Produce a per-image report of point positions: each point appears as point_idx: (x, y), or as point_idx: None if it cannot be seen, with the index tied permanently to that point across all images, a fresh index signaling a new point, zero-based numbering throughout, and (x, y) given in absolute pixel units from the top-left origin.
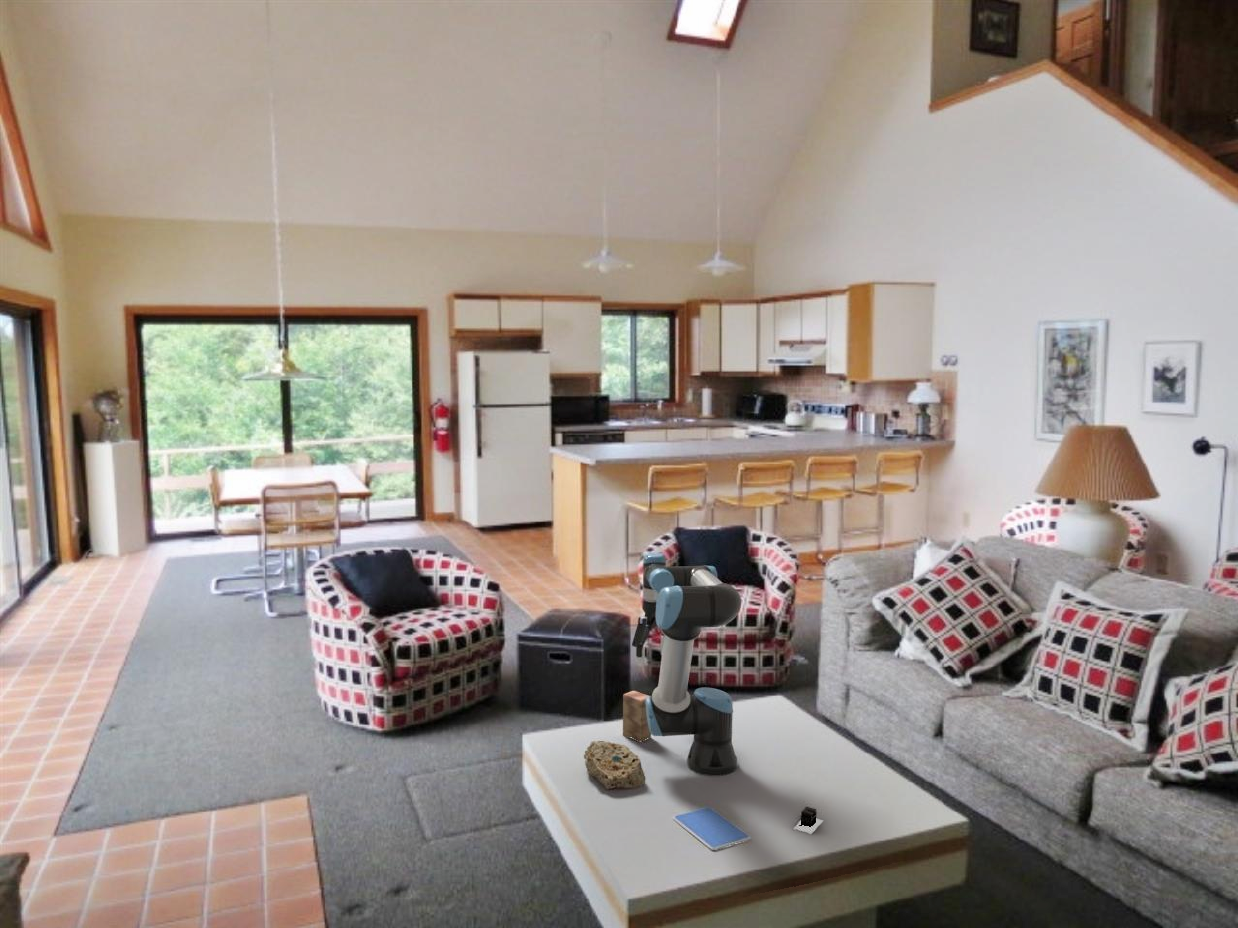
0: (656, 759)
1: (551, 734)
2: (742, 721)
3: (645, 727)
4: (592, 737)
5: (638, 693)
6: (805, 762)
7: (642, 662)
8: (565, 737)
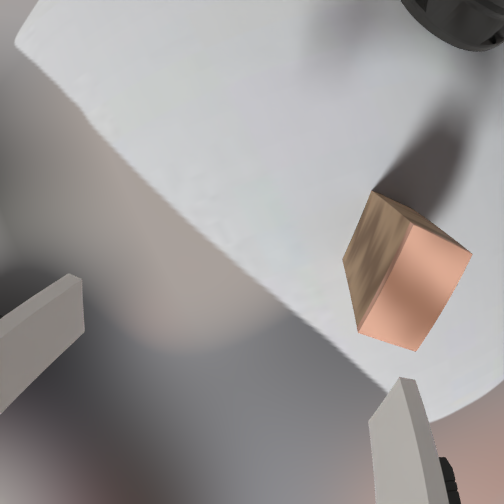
0: (492, 134)
1: None
2: (136, 7)
3: (407, 209)
4: None
5: (389, 299)
6: None
7: (420, 411)
8: (424, 382)
